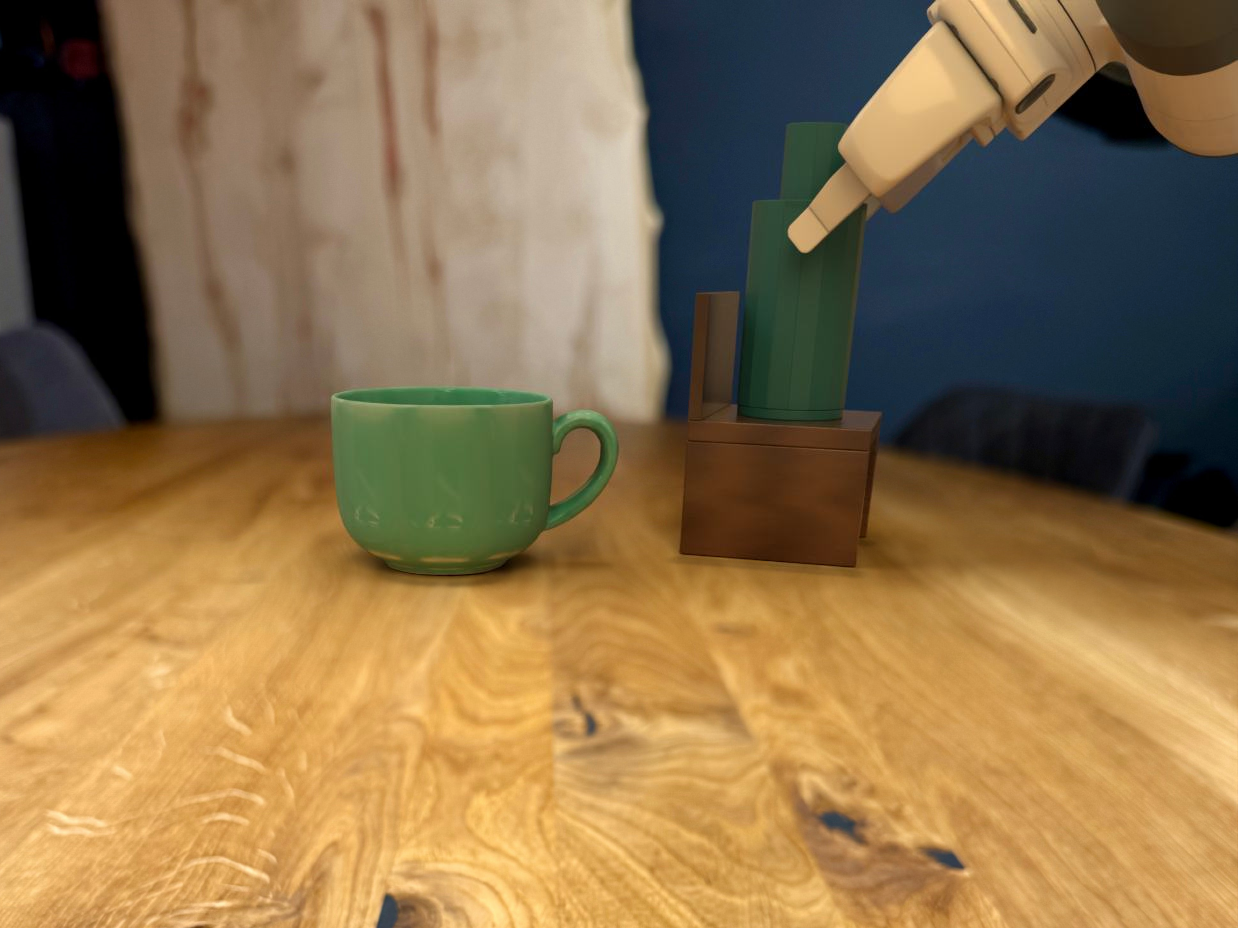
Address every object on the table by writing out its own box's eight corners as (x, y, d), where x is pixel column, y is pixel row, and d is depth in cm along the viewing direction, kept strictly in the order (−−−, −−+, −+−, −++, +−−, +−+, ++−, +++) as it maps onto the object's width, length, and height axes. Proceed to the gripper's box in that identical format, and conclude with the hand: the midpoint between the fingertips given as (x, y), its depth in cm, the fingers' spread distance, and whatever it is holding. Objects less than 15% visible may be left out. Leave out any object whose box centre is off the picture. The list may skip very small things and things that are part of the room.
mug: (322, 583, 73) (312, 401, 69) (353, 540, 84) (346, 382, 80) (618, 590, 73) (627, 409, 69) (610, 547, 84) (616, 390, 80)
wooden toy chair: (866, 533, 91) (897, 295, 84) (854, 567, 80) (887, 298, 74) (710, 522, 93) (727, 290, 87) (679, 553, 83) (696, 292, 76)
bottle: (852, 414, 85) (885, 129, 78) (829, 423, 80) (862, 117, 73) (752, 407, 87) (776, 130, 80) (723, 416, 82) (746, 119, 75)
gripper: (963, 35, 81) (789, 212, 87) (965, -35, 63) (747, 193, 70) (1026, 119, 82) (849, 287, 88) (1045, 72, 64) (822, 288, 71)
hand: (803, 246), depth 79 cm, fingers open, 8 cm apart
